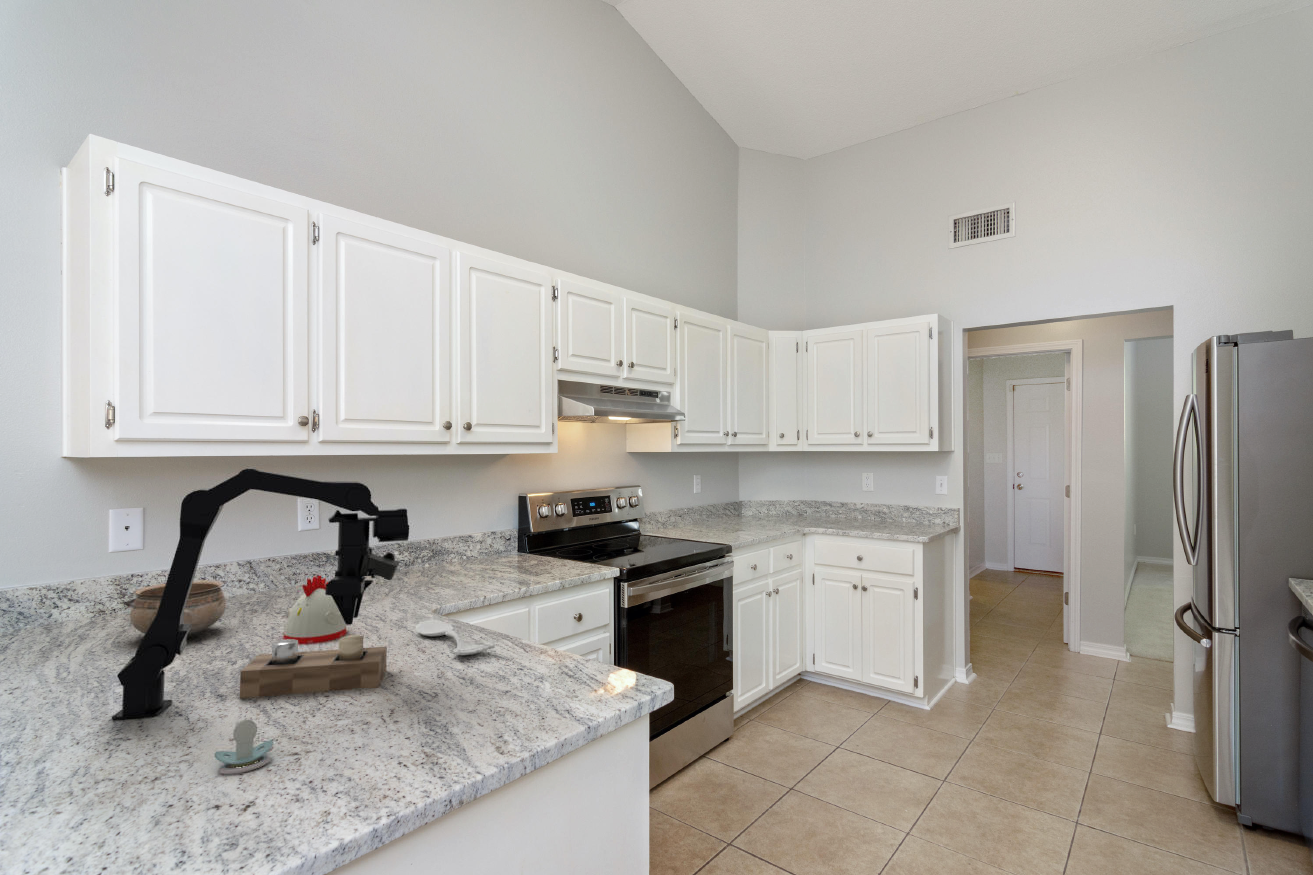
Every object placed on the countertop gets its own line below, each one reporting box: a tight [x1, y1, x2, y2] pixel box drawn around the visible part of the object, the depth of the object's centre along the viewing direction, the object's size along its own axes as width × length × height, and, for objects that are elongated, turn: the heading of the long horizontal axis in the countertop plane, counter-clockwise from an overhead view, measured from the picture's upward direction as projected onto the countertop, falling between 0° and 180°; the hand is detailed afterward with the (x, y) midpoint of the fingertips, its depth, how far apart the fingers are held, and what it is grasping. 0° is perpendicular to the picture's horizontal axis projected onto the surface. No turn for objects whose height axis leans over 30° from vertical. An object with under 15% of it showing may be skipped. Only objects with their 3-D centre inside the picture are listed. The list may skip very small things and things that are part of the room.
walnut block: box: [239, 646, 388, 699], centre depth 125 cm, size 10×24×5 cm, turn 105°
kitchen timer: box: [282, 574, 347, 645], centre depth 158 cm, size 14×14×15 cm
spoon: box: [415, 619, 496, 656], centre depth 153 cm, size 9×32×4 cm, turn 39°
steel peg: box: [271, 639, 299, 665], centre depth 124 cm, size 4×4×5 cm
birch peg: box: [338, 634, 364, 660], centre depth 127 cm, size 4×4×5 cm
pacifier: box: [214, 719, 274, 775], centre depth 93 cm, size 7×6×6 cm
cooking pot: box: [129, 579, 227, 640], centre depth 155 cm, size 25×19×12 cm
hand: (351, 620), depth 127 cm, fingers open, 5 cm apart
